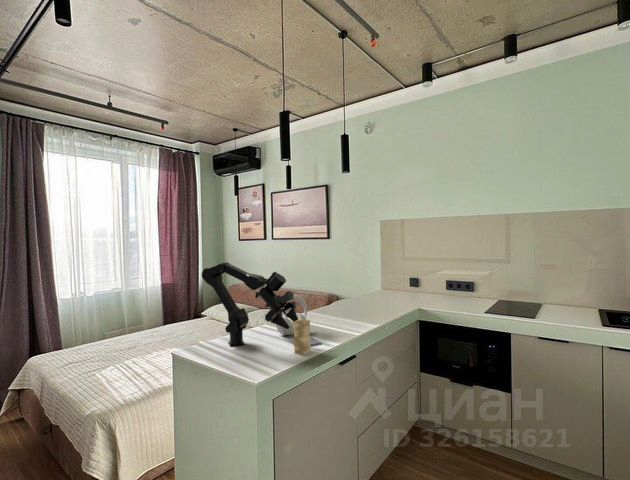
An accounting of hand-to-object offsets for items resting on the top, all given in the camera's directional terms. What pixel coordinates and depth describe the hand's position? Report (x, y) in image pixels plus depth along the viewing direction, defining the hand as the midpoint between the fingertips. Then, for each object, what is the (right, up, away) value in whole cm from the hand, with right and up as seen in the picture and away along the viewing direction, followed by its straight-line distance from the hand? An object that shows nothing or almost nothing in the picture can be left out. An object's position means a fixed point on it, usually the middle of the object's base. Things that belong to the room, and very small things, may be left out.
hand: (294, 325), depth 138 cm
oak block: (+4, -11, -2) cm, 11 cm away
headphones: (-3, -11, +25) cm, 28 cm away
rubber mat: (+4, -11, +10) cm, 16 cm away
